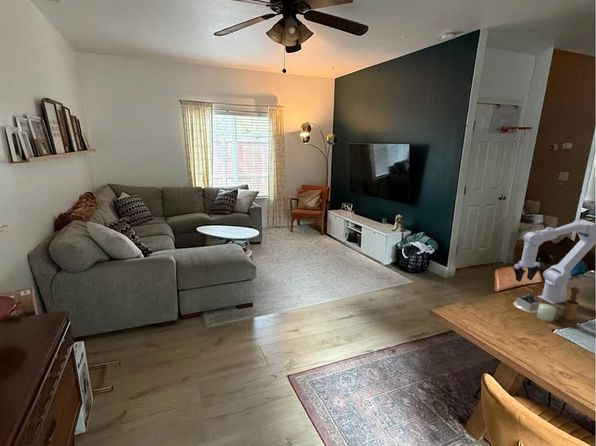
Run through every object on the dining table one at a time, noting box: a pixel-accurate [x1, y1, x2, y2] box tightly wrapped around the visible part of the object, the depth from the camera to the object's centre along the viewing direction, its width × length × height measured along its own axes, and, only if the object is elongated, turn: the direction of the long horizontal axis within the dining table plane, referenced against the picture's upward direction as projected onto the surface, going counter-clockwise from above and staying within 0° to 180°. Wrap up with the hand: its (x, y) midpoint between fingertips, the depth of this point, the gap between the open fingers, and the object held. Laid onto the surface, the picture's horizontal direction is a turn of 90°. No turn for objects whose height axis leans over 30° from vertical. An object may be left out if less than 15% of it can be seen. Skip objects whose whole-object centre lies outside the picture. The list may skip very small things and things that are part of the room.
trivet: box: [513, 300, 538, 314], centre depth 154 cm, size 12×12×1 cm
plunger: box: [525, 293, 535, 303], centre depth 153 cm, size 5×5×6 cm
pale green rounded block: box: [536, 303, 557, 323], centre depth 143 cm, size 6×6×6 cm
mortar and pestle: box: [557, 286, 581, 329], centre depth 137 cm, size 7×6×18 cm
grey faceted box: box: [516, 294, 543, 311], centre depth 154 cm, size 7×9×4 cm
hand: (523, 280), depth 160 cm, fingers open, 7 cm apart
